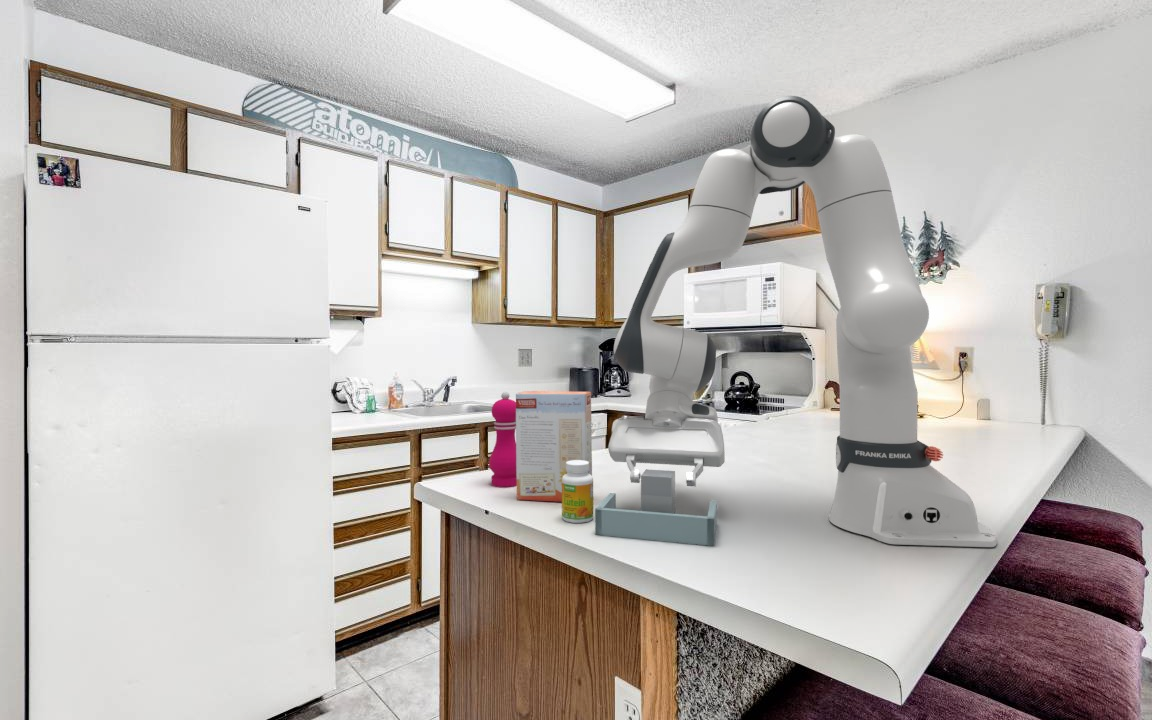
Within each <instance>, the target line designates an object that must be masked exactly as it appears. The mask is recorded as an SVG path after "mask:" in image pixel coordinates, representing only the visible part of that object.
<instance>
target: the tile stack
mask: <svg viewBox="0 0 1152 720" xmlns="http://www.w3.org/2000/svg"><path fill="white" fill-rule="evenodd" d="M640 511H647V512H659V513H671V514H676V470H663V469H662V470H661V469H649V468H648V469H645V470H644V471H643V473H641V477H640Z"/></svg>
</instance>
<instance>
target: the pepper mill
mask: <svg viewBox="0 0 1152 720" xmlns="http://www.w3.org/2000/svg"><path fill="white" fill-rule="evenodd" d="M500 397H501V399H498V400H496V401H495V402H494V403H493V404H492V407H491V416H492V417H493V419H494V420H495V421H494V422H493V424H494V426H493V428H494V429H495V434H496V438H495V439H496V440H495V444H494V447H493V449H492V452H491V454H490V458H489V463H488V466H489V469H490V470H491V472H492V473H493V474H492V475H491V485H492V486H494V487H497V488H510V487H517V476H516V400H514V399H510V393H509V392H507V391H503V392H502V393H501V395H500Z"/></svg>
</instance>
